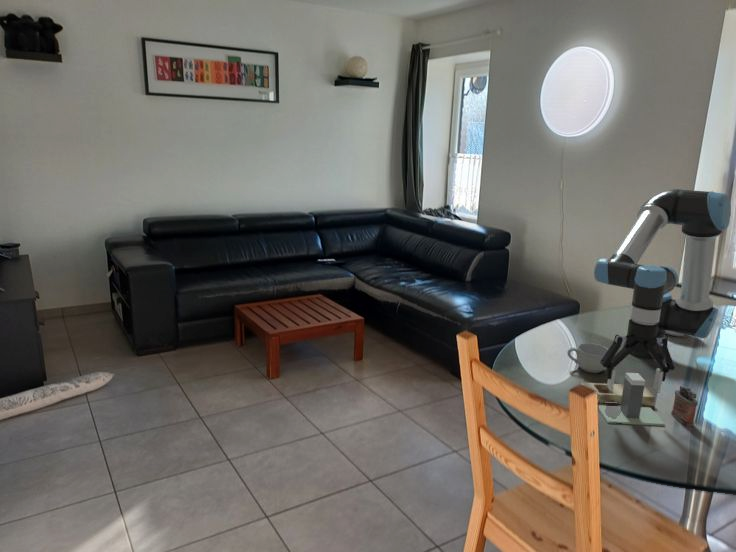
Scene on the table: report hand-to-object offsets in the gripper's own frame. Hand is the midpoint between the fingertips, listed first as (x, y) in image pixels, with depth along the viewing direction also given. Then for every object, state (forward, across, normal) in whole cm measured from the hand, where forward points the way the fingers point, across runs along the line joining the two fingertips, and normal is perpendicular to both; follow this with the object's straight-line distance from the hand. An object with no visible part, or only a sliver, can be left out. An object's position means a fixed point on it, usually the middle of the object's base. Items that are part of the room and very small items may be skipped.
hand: (633, 389), depth 160 cm
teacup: (+9, +2, -33) cm, 34 cm away
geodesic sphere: (+9, -46, -72) cm, 86 cm away
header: (+8, 0, -11) cm, 14 cm away
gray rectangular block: (+8, 0, 0) cm, 8 cm away
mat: (+8, 0, 0) cm, 8 cm away
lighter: (+9, -15, +1) cm, 17 cm away
